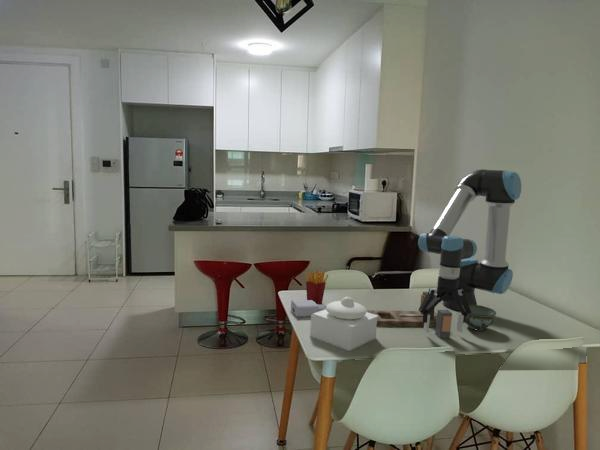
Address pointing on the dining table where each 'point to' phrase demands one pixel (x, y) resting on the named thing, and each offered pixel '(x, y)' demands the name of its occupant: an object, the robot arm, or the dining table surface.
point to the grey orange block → (443, 323)
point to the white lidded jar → (344, 324)
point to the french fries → (316, 286)
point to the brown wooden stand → (405, 316)
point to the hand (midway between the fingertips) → (442, 330)
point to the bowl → (479, 317)
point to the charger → (305, 308)
